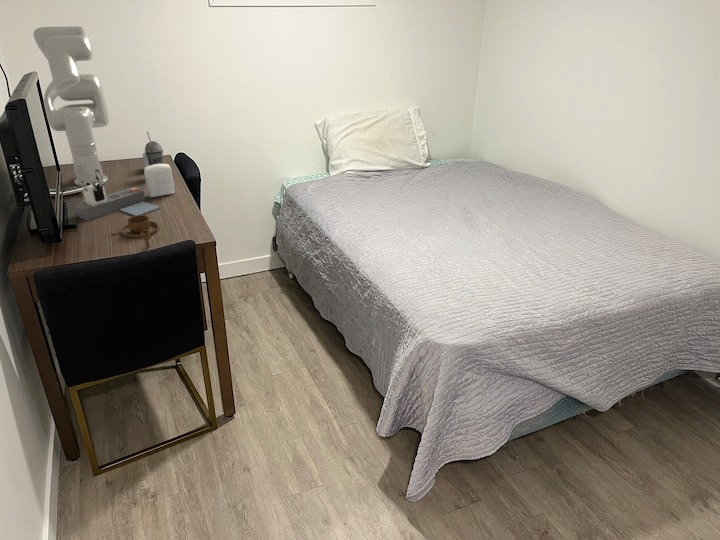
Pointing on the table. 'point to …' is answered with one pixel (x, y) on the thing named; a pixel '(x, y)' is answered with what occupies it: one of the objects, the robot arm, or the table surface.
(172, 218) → the table surface
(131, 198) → the power strip
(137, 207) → the mat
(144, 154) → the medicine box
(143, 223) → the place setting
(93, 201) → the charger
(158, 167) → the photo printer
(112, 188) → the table surface
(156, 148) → the beverage cup
